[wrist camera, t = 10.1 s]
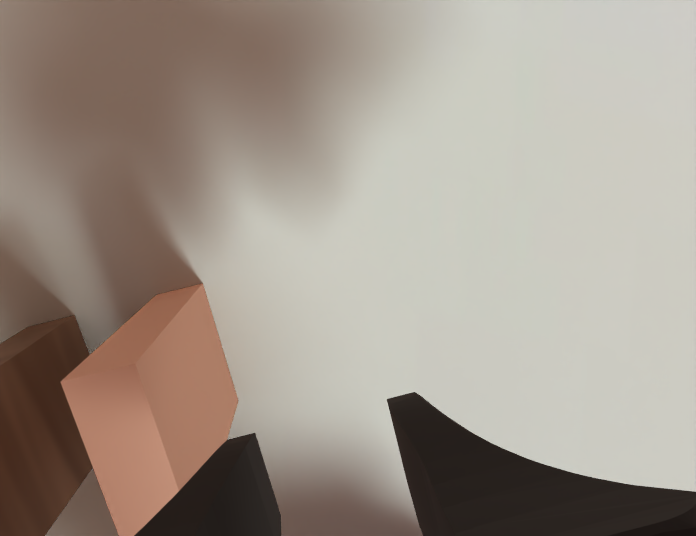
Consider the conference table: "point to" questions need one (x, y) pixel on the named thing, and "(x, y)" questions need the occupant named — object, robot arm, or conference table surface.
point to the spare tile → (153, 404)
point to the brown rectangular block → (39, 427)
